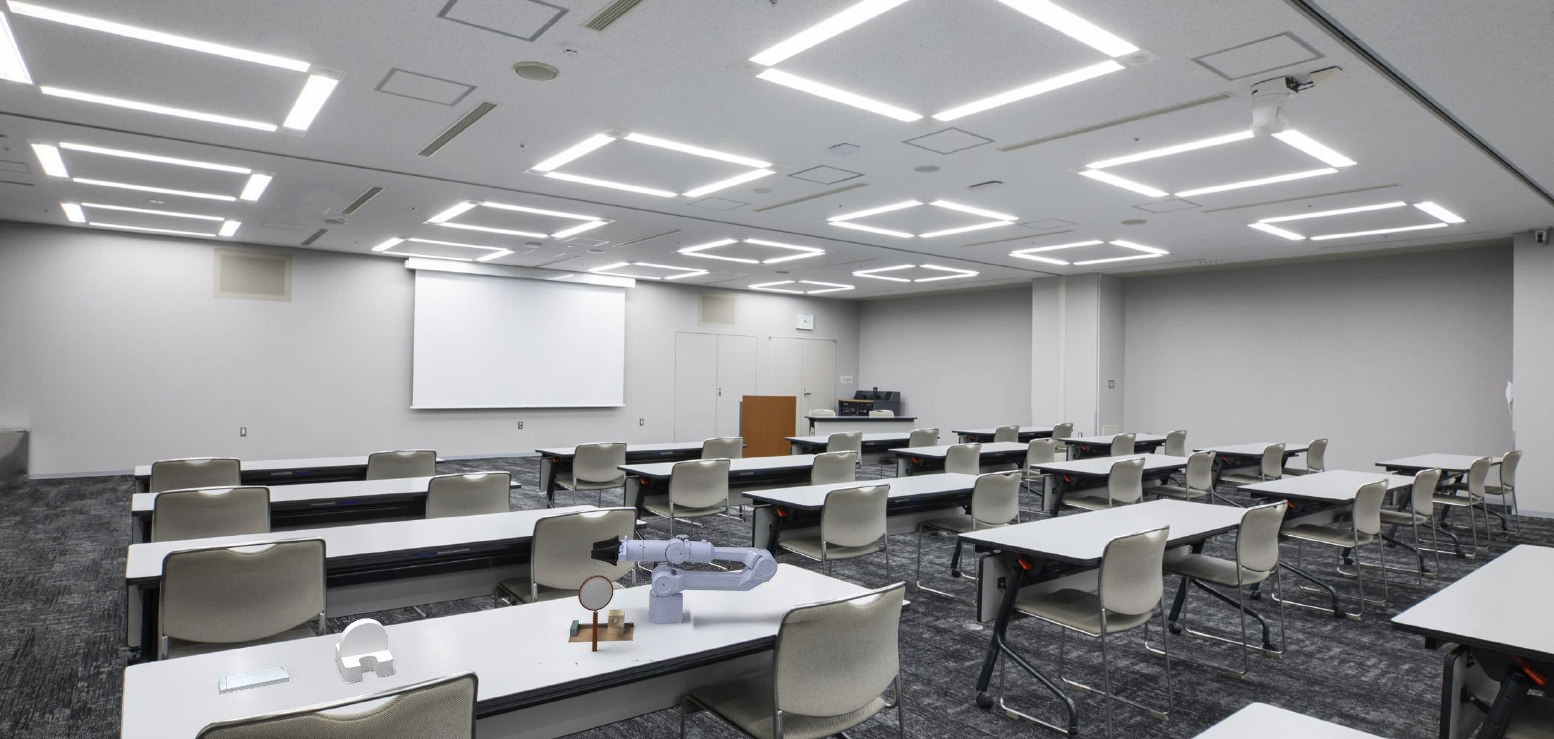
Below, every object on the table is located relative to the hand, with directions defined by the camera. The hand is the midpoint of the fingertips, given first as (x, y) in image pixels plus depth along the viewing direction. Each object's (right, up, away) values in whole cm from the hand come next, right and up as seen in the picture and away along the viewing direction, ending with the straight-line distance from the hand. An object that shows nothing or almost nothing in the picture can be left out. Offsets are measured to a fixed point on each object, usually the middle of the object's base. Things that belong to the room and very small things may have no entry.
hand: (592, 550), depth 209 cm
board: (+5, -21, -9) cm, 23 cm away
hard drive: (-65, -20, -40) cm, 79 cm away
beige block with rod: (+8, -20, -7) cm, 22 cm away
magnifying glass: (+6, -21, -21) cm, 30 cm away
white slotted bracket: (-46, -20, -30) cm, 59 cm away
